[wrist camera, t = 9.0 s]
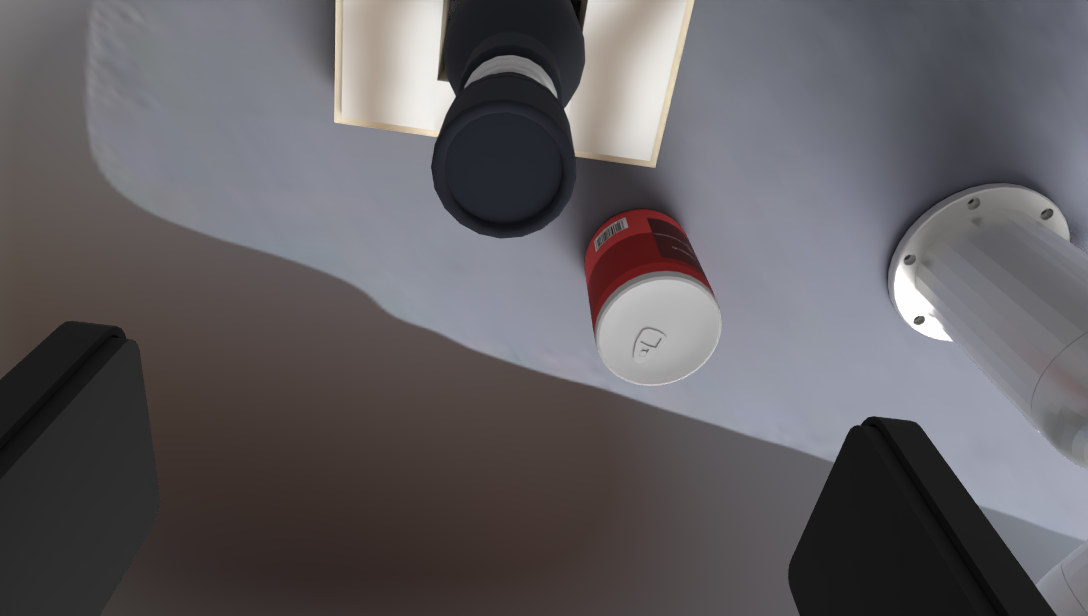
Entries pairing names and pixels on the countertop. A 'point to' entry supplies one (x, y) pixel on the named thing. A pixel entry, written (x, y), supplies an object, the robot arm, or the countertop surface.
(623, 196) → the countertop surface
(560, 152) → the black water bottle
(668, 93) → the holder block
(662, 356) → the canned food
